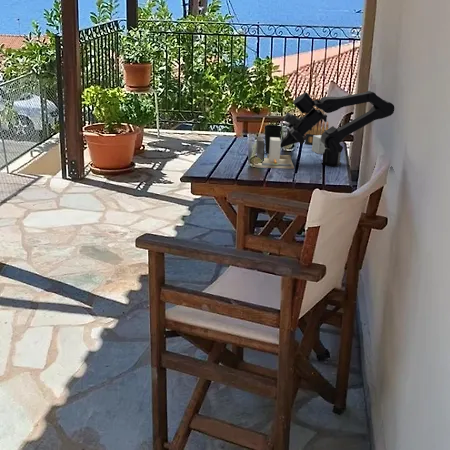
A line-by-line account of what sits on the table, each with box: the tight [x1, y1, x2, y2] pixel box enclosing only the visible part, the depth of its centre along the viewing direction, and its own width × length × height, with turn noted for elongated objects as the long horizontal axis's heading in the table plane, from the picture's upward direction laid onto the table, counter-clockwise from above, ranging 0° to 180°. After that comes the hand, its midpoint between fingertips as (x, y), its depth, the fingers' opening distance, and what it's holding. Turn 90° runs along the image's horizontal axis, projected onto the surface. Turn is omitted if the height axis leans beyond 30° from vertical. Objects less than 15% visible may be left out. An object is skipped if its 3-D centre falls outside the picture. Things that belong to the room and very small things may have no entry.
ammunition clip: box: [304, 120, 329, 146], centre depth 303 cm, size 11×2×12 cm, turn 68°
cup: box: [264, 124, 283, 155], centre depth 284 cm, size 8×8×12 cm
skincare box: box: [311, 135, 326, 155], centre depth 291 cm, size 6×6×7 cm
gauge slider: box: [268, 137, 282, 163], centre depth 266 cm, size 4×10×9 cm, turn 1°
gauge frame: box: [253, 136, 295, 170], centre depth 266 cm, size 16×12×10 cm
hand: (280, 146), depth 268 cm, fingers closed, pressing on gauge slider
